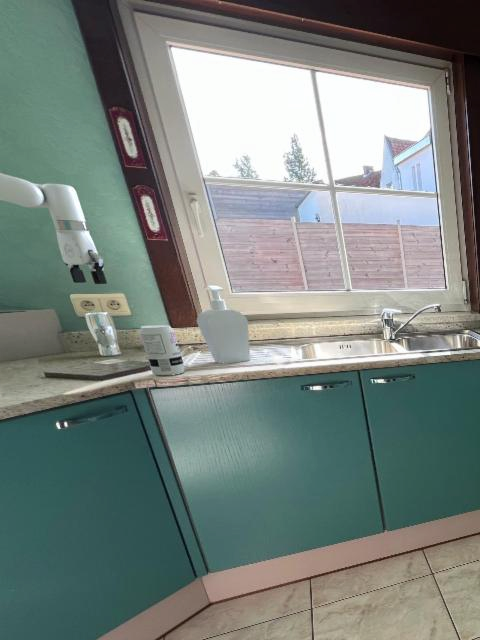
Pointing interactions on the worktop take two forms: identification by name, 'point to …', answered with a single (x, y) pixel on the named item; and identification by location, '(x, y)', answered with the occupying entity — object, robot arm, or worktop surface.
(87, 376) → the grid board
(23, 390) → the worktop surface
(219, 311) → the soap bottle
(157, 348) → the supplement can
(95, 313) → the beer glass
